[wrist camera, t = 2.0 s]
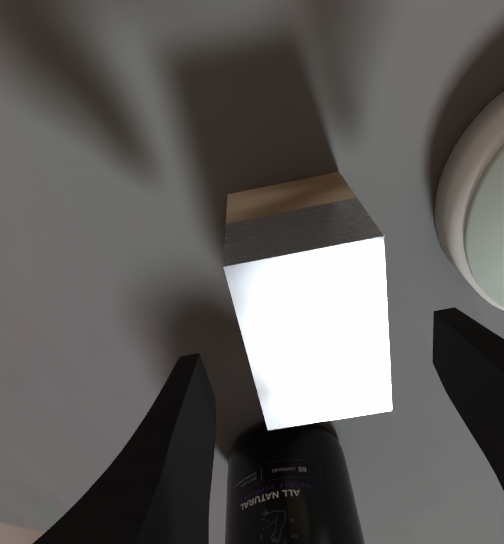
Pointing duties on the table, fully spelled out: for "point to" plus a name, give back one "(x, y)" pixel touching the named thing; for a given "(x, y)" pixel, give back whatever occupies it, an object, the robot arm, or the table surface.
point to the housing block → (310, 300)
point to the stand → (476, 204)
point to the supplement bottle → (290, 489)
